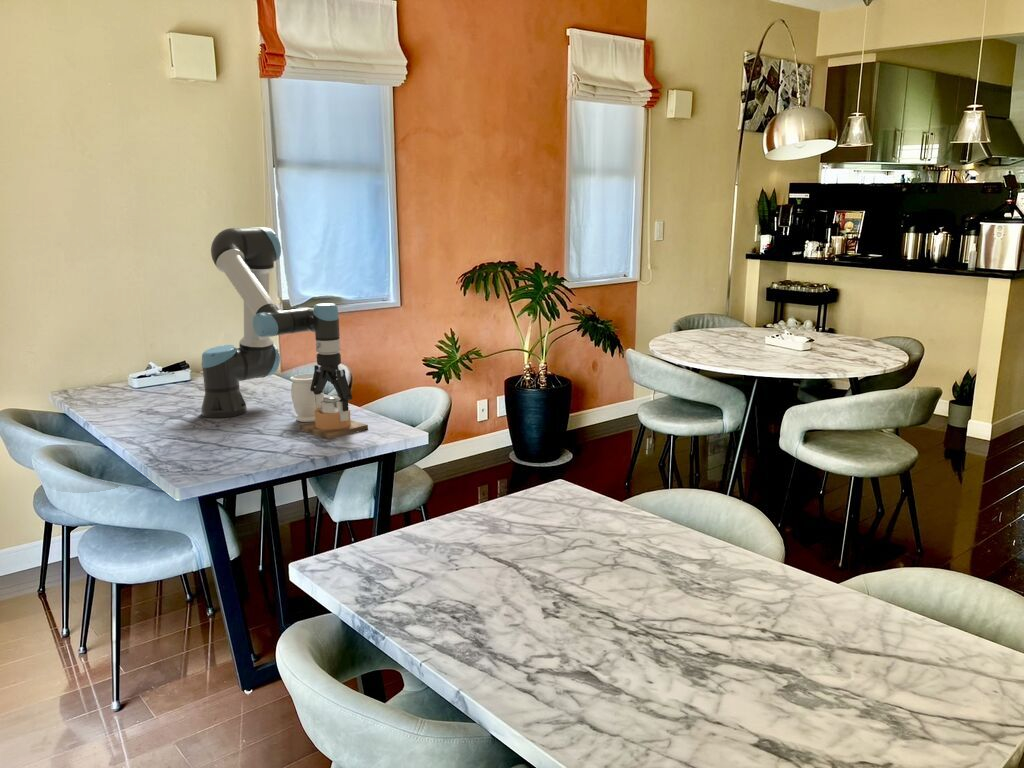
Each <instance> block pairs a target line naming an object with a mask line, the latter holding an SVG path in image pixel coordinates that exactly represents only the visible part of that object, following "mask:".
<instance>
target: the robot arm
mask: <svg viewBox="0 0 1024 768" xmlns="http://www.w3.org/2000/svg"><path fill="white" fill-rule="evenodd" d="M210 254H211V255H210V256H211V260H212V261H213V263H214V265H215V267H216V268H217V269H218V271H220V272H222V273H224V274H225V276H226V277H227V279H228V280H229V282H230V283H231V285H232V286H233V287H234V289H235V290H236V292H237V293H238V295H239V296H240V297H241V299H242V300H243V337H242V338H241V339H240V340H239V343H238V344H239V347H236V346H235V345H234V344H233V345H232V344H225V345H218V346H214V347H210V348H208V349H206V350H204V351H203V353H202V354H201V367H202V374H203V378H202V379H203V385H204V397H203V400H202V403H201V404H202V405H201V408H200V410H201V416H202V417H204V418H212V419H217V418H218V419H221V418H231V417H232V418H233V417H236V416H241V415H243V414H246V413H247V412H248V411H247V409H248V408H247V407H248V406H247V403H246V400H245V399H244V397H243V393H242V392H241V389H240V382H241V381H247V380H253V379H254V380H255V379H260V378H261V379H264V378H266V377H269V376H272V375H274V374H275V373H277V371H278V369H279V367H280V364H281V363H280V362H281V355H280V352H279V351H280V350H279V349H278V347H277V345H276V344H274V340H272V339H271V338H270V337H275V336H283V335H288V334H297V333H305V332H313V333H315V335H314V336H315V350H316V352H317V353H316V365H314V369H313V370H314V372H313V374H314V375H313V380H312V384H311V388H310V390H311V391H313V392H314V394H315V402H316V409H318V408H321V401H322V400H323V398H324V397H325V395H324V394H323V392H324V388H325V386H326V384H327V382H329V383H330V384H331V385H333V387H334V390H335V392H336V393H337V396H338V397H339V398H340V400H339V409H340V421H341V422H342V421H346V420H349V416H348V407H349V401H350V400H353V395H352V392H351V389H350V386H349V382H348V380H347V379H348V378H347V376H346V371H345V369H344V368H342V369H339V365H341V363H342V355H341V352H340V351H341V338H340V314H339V310H338V306H337V304H336V303H328V302H327V303H326V302H325V303H317V304H316V303H315V304H314V305H313V307H309V306H299V307H297V308H295V309H294V308H293V309H285V310H280V308H279V307H278V306H277V305H276V303H275V302H274V301H273V299H272V298H271V296H270V272H271V271H272V270H273V269H274V268H275V267H274V266H275V264H274V263H275V262H277V261H278V260H279V259H280V257H281V254H282V247H281V242H280V240H279V237H278V235H277V234H276V232H275V231H274V230H273V229H271V228H270V227H259V226H254V227H238V228H235V227H231V228H226V229H224V230H222V231H220V232H218V234H217V235H215V237H214V238H213V241H212V242H211V246H210ZM314 386H316V387H314Z"/></svg>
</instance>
